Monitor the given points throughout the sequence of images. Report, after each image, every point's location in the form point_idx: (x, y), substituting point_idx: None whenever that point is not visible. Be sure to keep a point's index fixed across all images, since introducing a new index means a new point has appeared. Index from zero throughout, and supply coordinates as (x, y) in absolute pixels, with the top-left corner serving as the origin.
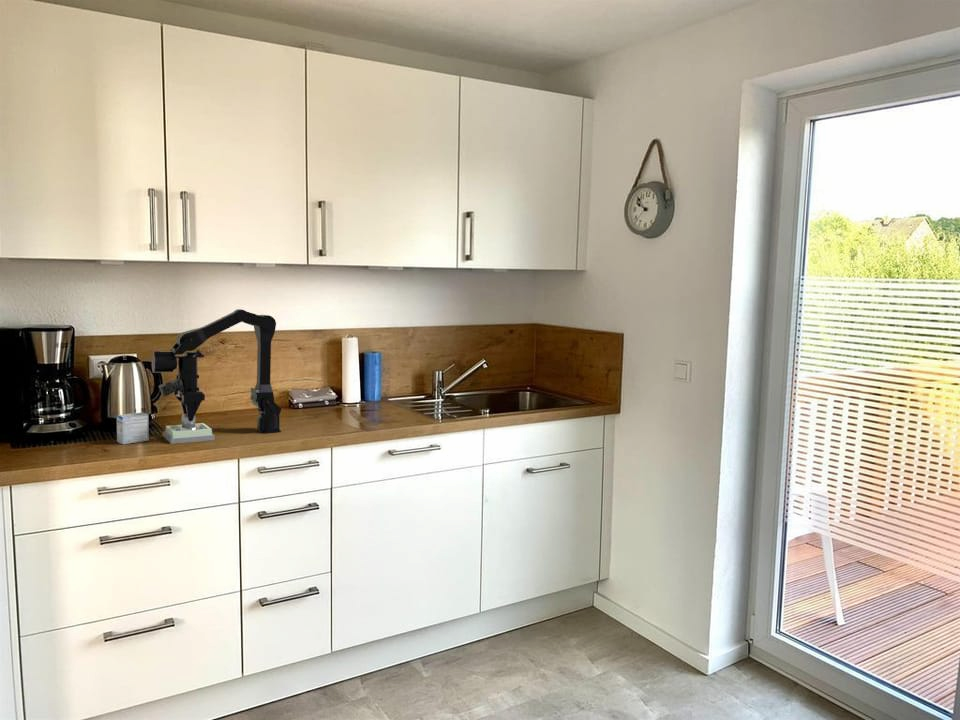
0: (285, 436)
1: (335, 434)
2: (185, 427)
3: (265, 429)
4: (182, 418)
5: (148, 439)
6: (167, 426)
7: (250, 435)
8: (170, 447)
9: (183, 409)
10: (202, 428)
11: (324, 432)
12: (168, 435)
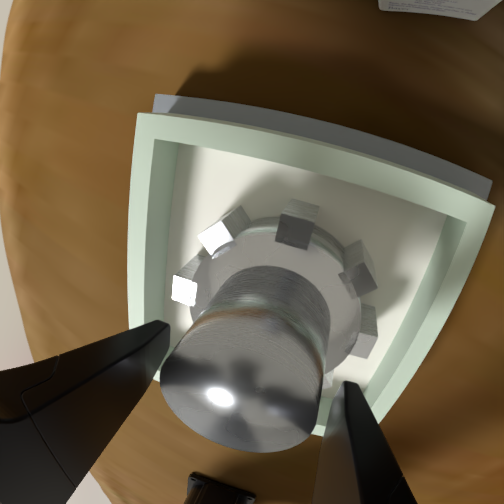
0: (125, 459)
1: (114, 487)
2: (230, 276)
3: (196, 489)
4: (236, 316)
5: (379, 7)
6: (460, 201)
7: (182, 447)
8: (94, 72)
9: (354, 462)
10: (324, 403)
11: (141, 498)
12: (311, 129)
